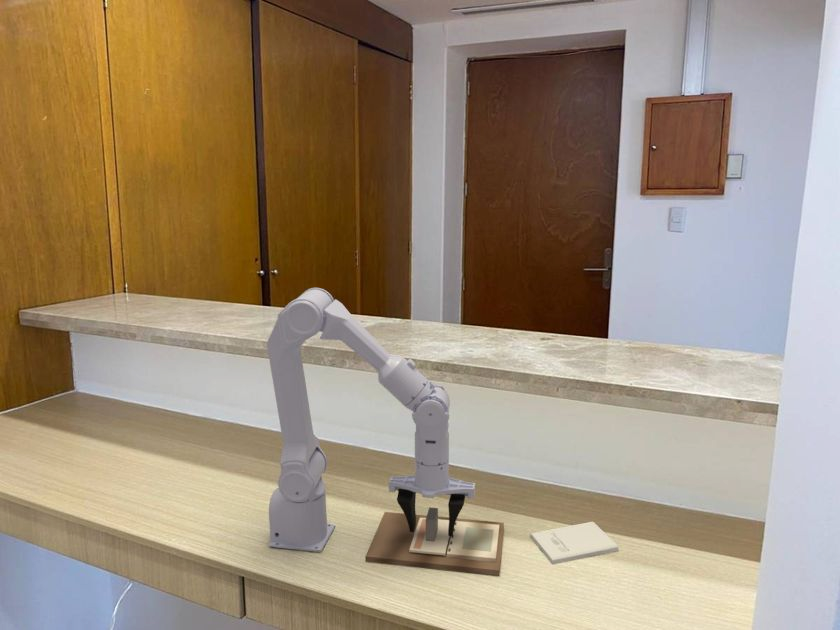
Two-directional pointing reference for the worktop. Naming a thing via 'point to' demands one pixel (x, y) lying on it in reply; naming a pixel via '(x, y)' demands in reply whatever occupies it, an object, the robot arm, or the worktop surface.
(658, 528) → the worktop surface
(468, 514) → the worktop surface
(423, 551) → the stub
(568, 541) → the external hard drive
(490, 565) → the ticket board
